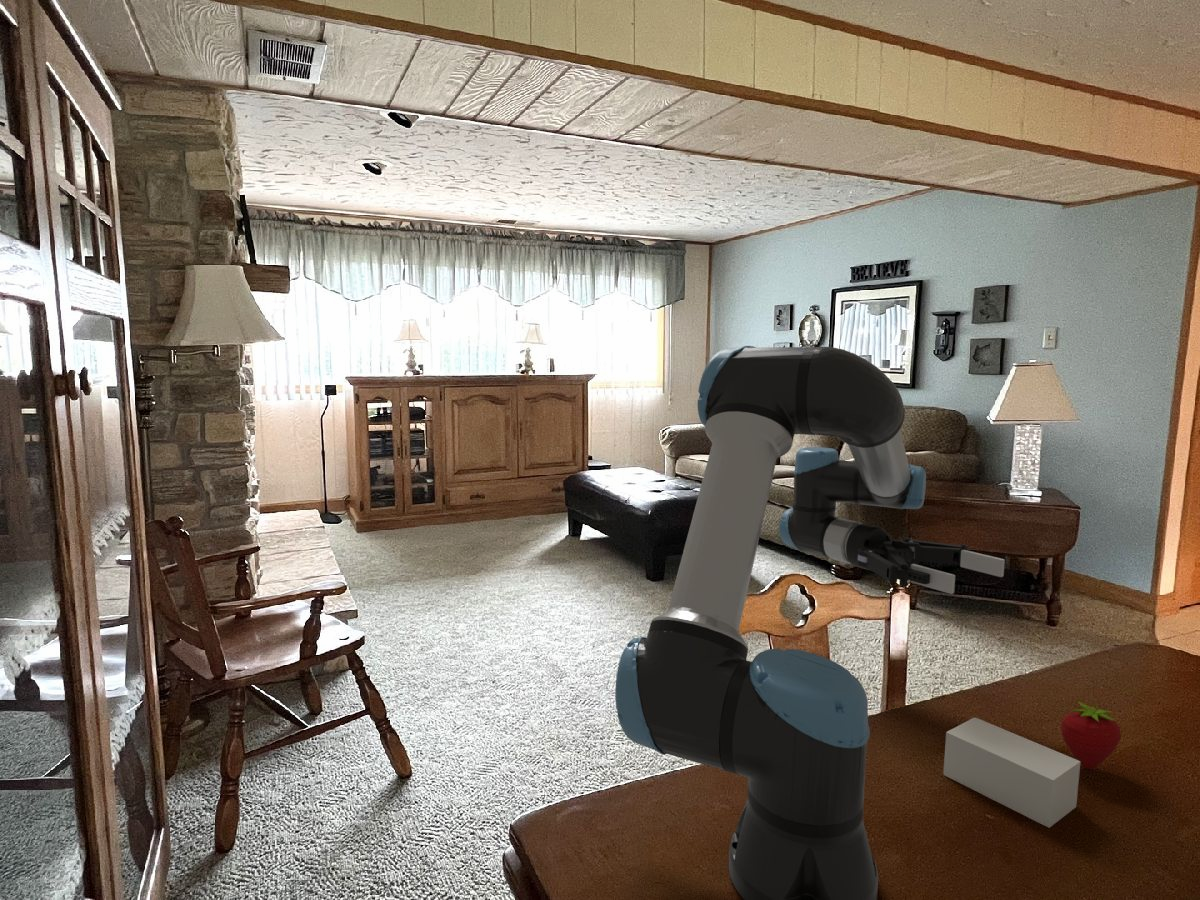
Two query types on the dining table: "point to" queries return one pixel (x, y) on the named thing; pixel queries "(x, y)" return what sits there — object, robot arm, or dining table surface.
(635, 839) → the dining table surface
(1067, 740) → the strawberry
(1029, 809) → the block
